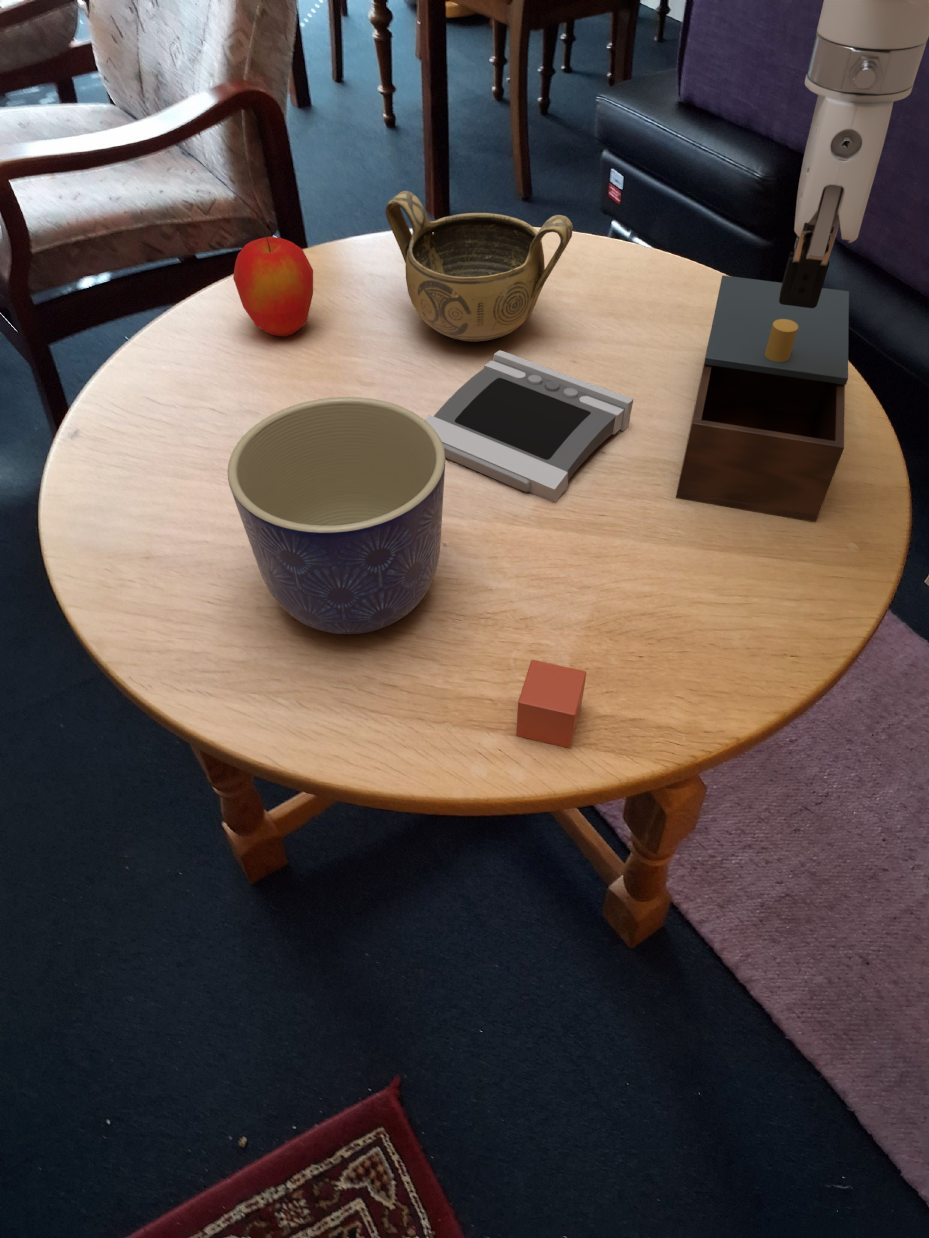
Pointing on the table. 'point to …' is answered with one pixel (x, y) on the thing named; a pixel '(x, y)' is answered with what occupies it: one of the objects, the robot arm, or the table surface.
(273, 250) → the apple
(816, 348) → the lid
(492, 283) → the ceramic bowl
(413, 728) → the table surface
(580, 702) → the block
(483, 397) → the alarm clock
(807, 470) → the box
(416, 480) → the planter
